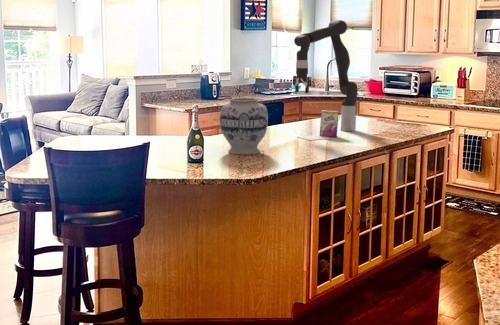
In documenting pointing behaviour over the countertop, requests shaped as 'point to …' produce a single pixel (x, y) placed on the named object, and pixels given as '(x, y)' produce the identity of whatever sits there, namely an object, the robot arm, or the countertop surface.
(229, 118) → the apothecary jar
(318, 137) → the white mat
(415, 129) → the countertop surface
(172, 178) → the countertop surface
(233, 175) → the countertop surface
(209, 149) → the countertop surface
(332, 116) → the candy bar box
